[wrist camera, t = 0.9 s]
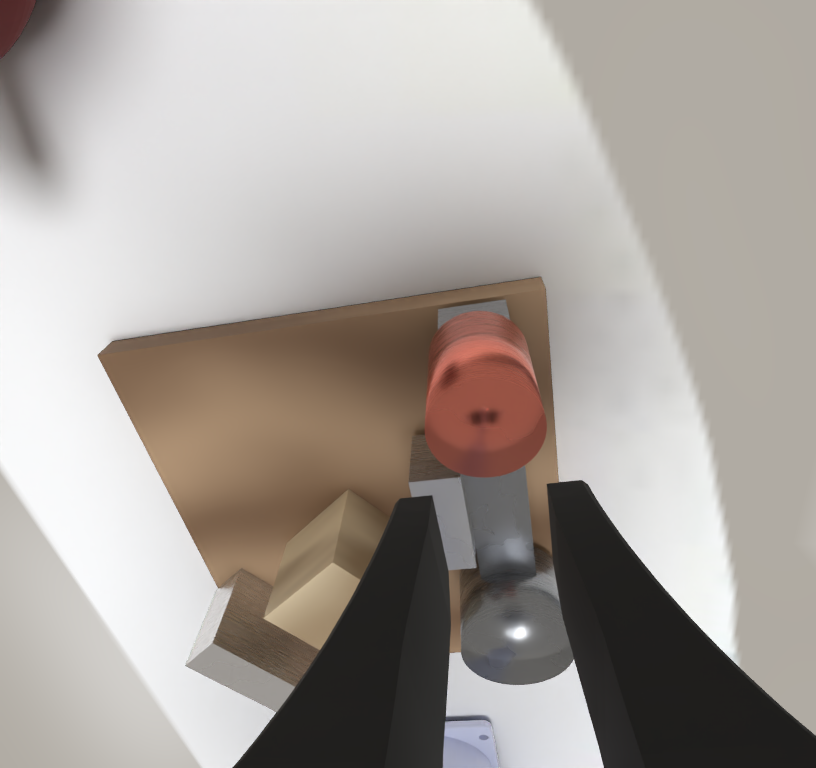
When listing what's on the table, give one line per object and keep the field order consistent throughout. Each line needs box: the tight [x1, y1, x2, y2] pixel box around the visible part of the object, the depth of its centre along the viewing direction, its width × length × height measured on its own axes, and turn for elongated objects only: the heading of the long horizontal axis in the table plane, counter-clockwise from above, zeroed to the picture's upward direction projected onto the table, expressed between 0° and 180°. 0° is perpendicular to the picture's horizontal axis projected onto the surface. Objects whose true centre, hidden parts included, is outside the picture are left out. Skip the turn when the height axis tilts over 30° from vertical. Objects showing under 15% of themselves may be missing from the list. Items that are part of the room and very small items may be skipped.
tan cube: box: [263, 489, 390, 650], centre depth 22 cm, size 4×4×4 cm
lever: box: [408, 299, 574, 685], centre depth 18 cm, size 14×5×5 cm, turn 10°
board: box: [97, 277, 559, 653], centre depth 23 cm, size 17×15×1 cm
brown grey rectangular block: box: [185, 568, 320, 712], centre depth 24 cm, size 5×2×4 cm, turn 48°
